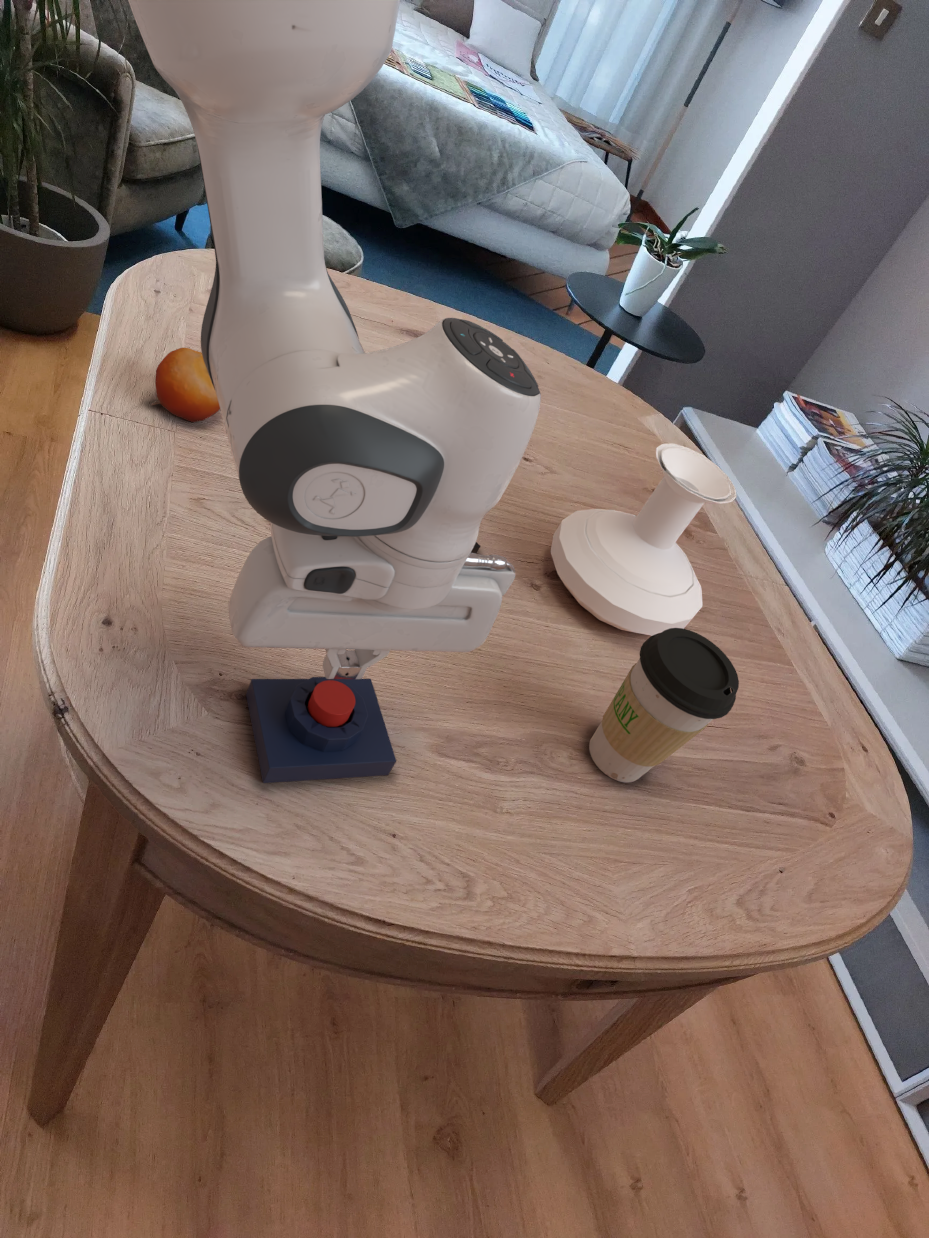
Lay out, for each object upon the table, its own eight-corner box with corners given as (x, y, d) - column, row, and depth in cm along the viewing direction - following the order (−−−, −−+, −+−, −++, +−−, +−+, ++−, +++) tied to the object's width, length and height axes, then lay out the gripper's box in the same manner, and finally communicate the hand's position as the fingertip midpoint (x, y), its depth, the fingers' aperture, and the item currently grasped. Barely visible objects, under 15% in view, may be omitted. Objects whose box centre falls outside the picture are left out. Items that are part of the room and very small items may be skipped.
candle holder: (581, 654, 95) (674, 527, 83) (515, 533, 106) (587, 407, 94) (707, 651, 105) (806, 539, 93) (634, 542, 117) (713, 429, 104)
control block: (262, 783, 67) (274, 755, 65) (245, 694, 73) (256, 665, 70) (388, 775, 73) (403, 748, 70) (363, 693, 78) (377, 665, 76)
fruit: (153, 363, 98) (197, 326, 95) (202, 416, 102) (247, 382, 98) (123, 394, 92) (169, 355, 89) (176, 448, 96) (223, 413, 92)
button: (312, 728, 68) (318, 715, 67) (303, 693, 71) (309, 680, 69) (353, 726, 70) (359, 714, 69) (344, 692, 72) (350, 679, 71)
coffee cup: (608, 704, 91) (684, 610, 81) (674, 772, 87) (762, 682, 78) (554, 739, 84) (631, 641, 74) (624, 814, 80) (714, 721, 71)
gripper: (510, 531, 66) (443, 646, 74) (250, 502, 55) (208, 639, 64) (539, 589, 62) (465, 703, 71) (267, 569, 52) (219, 705, 60)
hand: (341, 672), depth 67 cm, fingers closed
